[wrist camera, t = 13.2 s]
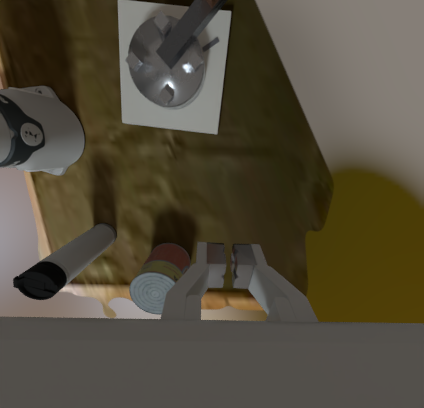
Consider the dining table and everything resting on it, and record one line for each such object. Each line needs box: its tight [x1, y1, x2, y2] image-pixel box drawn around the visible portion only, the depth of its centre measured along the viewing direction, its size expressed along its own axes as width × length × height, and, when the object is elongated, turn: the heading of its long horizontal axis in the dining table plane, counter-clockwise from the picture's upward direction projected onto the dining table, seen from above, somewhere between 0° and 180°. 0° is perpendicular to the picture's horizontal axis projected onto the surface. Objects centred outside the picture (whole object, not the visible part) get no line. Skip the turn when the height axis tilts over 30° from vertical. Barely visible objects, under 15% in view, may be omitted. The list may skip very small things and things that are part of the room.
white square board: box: [118, 0, 231, 134], centre depth 36 cm, size 20×20×2 cm
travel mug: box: [13, 223, 116, 300], centre depth 40 cm, size 6×7×20 cm
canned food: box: [130, 243, 190, 314], centre depth 46 cm, size 11×11×12 cm
